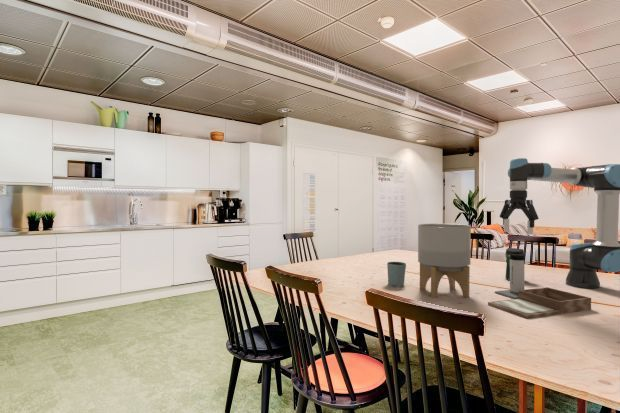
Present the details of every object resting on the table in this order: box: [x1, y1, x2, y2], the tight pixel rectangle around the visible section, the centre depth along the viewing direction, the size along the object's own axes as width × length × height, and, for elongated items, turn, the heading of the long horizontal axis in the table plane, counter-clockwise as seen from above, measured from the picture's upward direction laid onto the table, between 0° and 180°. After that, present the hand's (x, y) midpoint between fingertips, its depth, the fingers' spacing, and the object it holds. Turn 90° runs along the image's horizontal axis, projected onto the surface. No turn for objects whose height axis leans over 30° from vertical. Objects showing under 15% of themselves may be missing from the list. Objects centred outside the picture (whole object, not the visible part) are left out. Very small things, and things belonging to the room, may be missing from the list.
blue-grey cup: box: [386, 261, 407, 287], centre depth 203 cm, size 10×10×12 cm
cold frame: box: [487, 286, 592, 320], centre depth 161 cm, size 36×20×5 cm, turn 109°
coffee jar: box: [504, 247, 525, 281], centre depth 214 cm, size 10×8×19 cm
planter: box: [417, 223, 472, 299], centre depth 186 cm, size 25×25×34 cm
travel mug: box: [509, 252, 525, 294], centre depth 182 cm, size 6×7×20 cm
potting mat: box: [494, 289, 519, 299], centre depth 182 cm, size 16×12×1 cm
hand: (517, 233), depth 181 cm, fingers open, 13 cm apart
